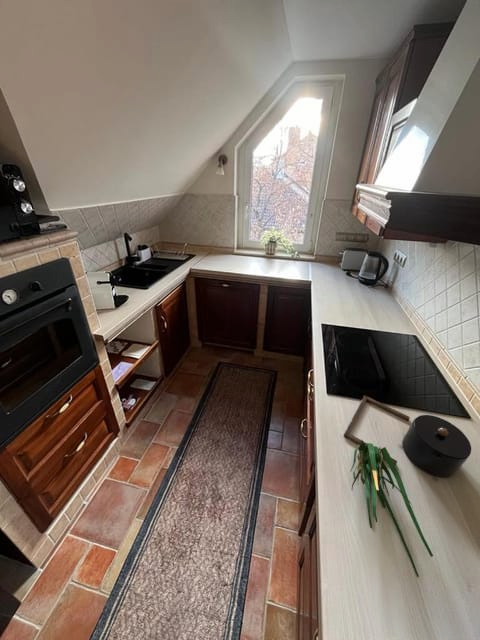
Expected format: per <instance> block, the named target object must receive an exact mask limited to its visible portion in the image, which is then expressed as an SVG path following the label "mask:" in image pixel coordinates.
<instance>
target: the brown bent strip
mask: <svg viewBox="0 0 480 640" xmlns="http://www.w3.org/2000/svg"><path fill="white" fill-rule="evenodd" d="M366 402H368V403H369V404H372V405H374V406H375V407H378V408H380V409H382V410H384V411H386V412H388V413H390V414H392V415H394V416H397V417H399V418H400V419H403V420H404V421H407V422H409V421H410V416H409V415H406V414H405V413H403V412H401V411H398V410H396V409H394V408H392V407H390V406H388V405H386V404H384V403H382V402H380V401H377V400H375V399H374V398H371V397H369V396H367V395H363V398H362V399H361V401H360V402H359V405H358V407H357V409H356V411H355V413H354V415H353V416H352V418H351V421H350V422H349V424H348V425H347V428H346V429H345V432H344V433H343V437H344V438H346V439H348V440H350V441H351V442H353V443H354V444H356V445H357V446H358V445H359V446H360V443H361V441H362V440H363V439H360V438H359V437H357V436H355V435H353V434H351V433H352V430H353V428H354V425H355V424H356V422H357V419H358V418H359V416H360V414H361V413H362V410H363V408H364V406H365V404H366ZM364 443H365V447H366V446H367V443H368V442H365V441H364ZM379 453H380V451H379ZM391 459H392V461H393V463H394V464H395V466H397V463H398V460H397V459H395V458H393V457H391ZM382 460H383V461H385V462H386V460H385V458H384V457H383V455H382Z"/></svg>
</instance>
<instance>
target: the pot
mask: <svg viewBox="0 0 480 640" xmlns="http://www.w3.org/2000/svg"><path fill="white" fill-rule="evenodd" d="M401 444H402V445H401V447H402V449H403V452H404V454H405V455H406V457H407V459H409V461H410V462H411V463H412V464H413V465H414V466H416V468H418V469H420V471H423V472H424V473H426V474H428V475H430V476H433V477H435V478H440V479H449V478H451V477H453V476H455V474H456V473H457V472H458V471H459V470H460V468H461V467H462V465H464V464H465V462H466V461H467V460H468V458H469V457H470V456H471V454H472V445H471V442H470V440H469V438H468V437H467V436H466V435H465V433H464V432H463V431H462V430H460V429H459V428H458V427H457V426H456V425H455V424H453V423H452V422H449V420H446V419H444V418H441V417H438V416H437V415H433V414H432V415H431V414H421V415H419V416H417V417H415V418H414V419H413V420H412V422H411V425H409V428H408V429H407V431H406V433H405V435H404V436H403V439H402V442H401Z"/></svg>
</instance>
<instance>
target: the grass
mask: <svg viewBox="0 0 480 640" xmlns="http://www.w3.org/2000/svg"><path fill="white" fill-rule="evenodd" d="M361 440H362V441H361V443H360V445H358V444H357V448H355V449H354V453H353V463H352V466H351V468H350V471H349V473H352V471H353V468H354V466H355V465H356V462H357V461H358V464H357V465H356V466H355V469H354V471H353V473H352V475H353V476H352V477H353V482H352V484H351V490H353V489H354V485H355V484H356V481H357V485H358V486H360V482H361V483H362V485H364V488H365V500H366V507H367V508H366V509H367V516H368V523H369V528H370V529H373V523H372V518H374V519H375V520H374V521H375V523H378V516H377V515H378V514H377V498H378V497H379V500H380V503H381V505H382V508H383V509H387V512H388V513H389V516H390V517H391V520H392V522H393V524H394V526H395V528H396V530H397V533H398V535H399V537H400V540H401V542H402V545H403V547H404V549H405V551H406V553H407V556H408V558H409V560H410V563H411V565H412V568H413V570H414V572H415V575H416V577H417V578H419V577H420V576H419V572H418V570H417V567H416V564H415V562H414V559H413V557H412V554H411V552H410V549H409V547H408V545H407V542H406V540H405V537H404V535H403V533H402V530H401V528H400V525H399V523H398V521H397V519H396V516H395V514H394V512H393V510H392V507H391V505H390V502H389V499H388V498H387V496H388V497H390V492H389V489H388V487H387V484H386V482H388V483H389V484H390V485H391V488H392V489H391V490H393V489H394V488H395V489H397V491H398V492H399V493H400V494H401V496H402V499H403V502H404V503H405V506H406V509H407V512H408V513H409V515H410V517H411V520H412V522H413V524H414V526H415V529H416V532H417V533H418V535H419V537H420V539H421V541H422V543H423V545H424V547H425V549H426V550H427V553H428V554H429V556H430V558H432V557H434V554H433V551H431V548H430V547H429V546H430V545H429V544H428V542H427V541H426V539H425V536H424V534H423V532H422V530H421V527H420V524H419V522H418V519H417V517H416V515H415V513H414V512H415V511H414V507H413V506H412V502H411V501H410V500H409V497H408V494H407V491H406V488H405V485H404V482H403V479H402V477H401V475H400V472H399V470H398V468H397V467H396V466H397V465H396V466H395V464H394V463H393V461H392V459H391V458H392V457H391V455H390V453H389V451H388V449H387V447H386V446H384V447H382V446H380V447H379V446H375V445H374V443H371V442H370V443H369V442H365V441H364V440H363V439H361ZM364 442H365V443H367V446H366V447H365V443H364ZM379 451H380V453H379ZM382 455H383V457H384V458H385V460H386V461H385V460H383V459H382ZM356 460H357V461H356ZM384 461H385V462H386V463H385V462H384ZM388 467H389V468H388ZM356 470H357V472H356ZM390 471H391V472H392V475H393V476H394V479H395V481H396V483H397V484H396V485H395V482H394V480H393V477H392V475H391V472H390ZM384 473H385V474H386V476H387V477H385V476H384ZM360 480H361V481H360ZM397 486H398V487H397ZM384 490H385V491H386V493H387V496H386V494H385V492H384ZM370 496H371V498H370ZM371 503H372V504H371ZM371 506H372V514H371Z"/></svg>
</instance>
